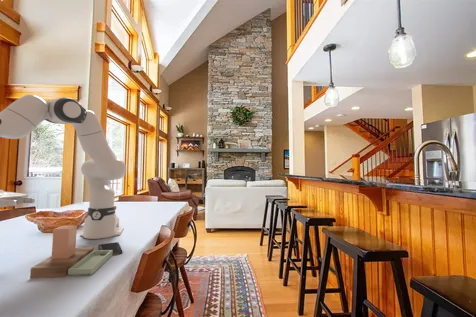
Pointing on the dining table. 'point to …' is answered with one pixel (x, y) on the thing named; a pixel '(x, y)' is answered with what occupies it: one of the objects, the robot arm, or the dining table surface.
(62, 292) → the dining table surface
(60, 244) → the terracotta block
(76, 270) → the box
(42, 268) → the platform
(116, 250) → the phone
